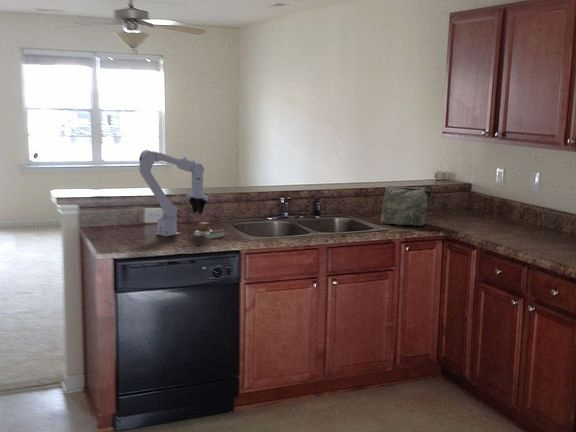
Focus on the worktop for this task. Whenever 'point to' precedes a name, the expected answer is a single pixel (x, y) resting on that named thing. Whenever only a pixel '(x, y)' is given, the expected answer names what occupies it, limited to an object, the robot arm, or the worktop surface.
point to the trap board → (210, 233)
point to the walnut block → (204, 226)
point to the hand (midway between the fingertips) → (197, 212)
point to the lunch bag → (405, 205)
